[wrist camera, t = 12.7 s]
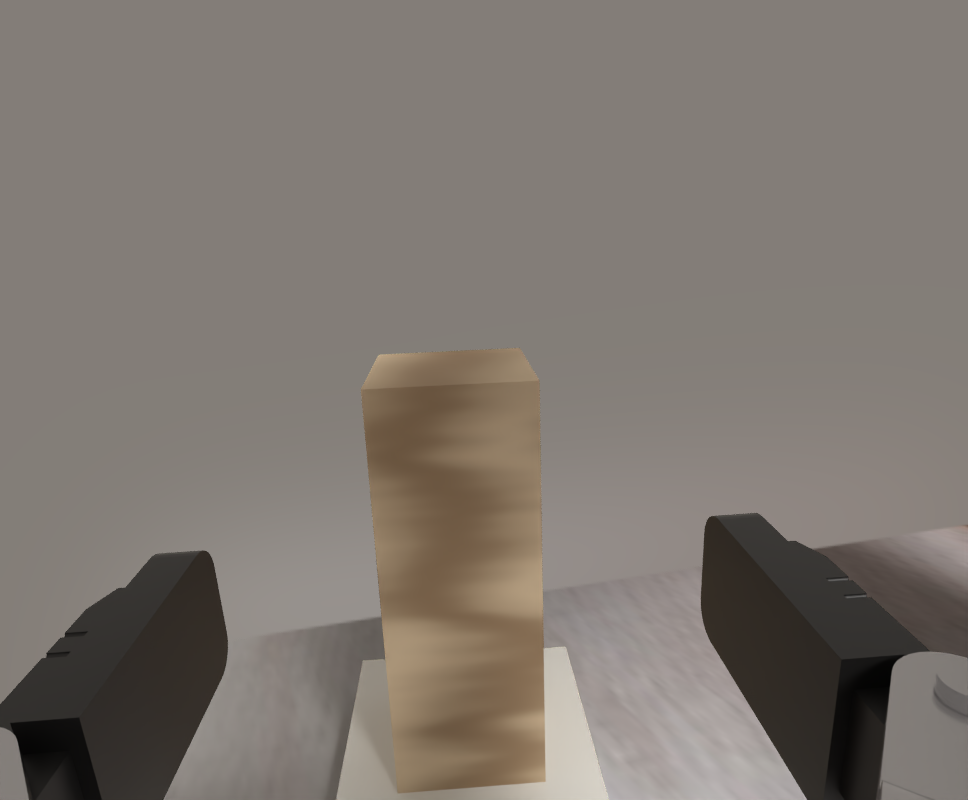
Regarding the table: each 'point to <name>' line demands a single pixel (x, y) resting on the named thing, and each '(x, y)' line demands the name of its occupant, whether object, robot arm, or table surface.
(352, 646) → the table surface
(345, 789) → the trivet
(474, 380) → the oak block
